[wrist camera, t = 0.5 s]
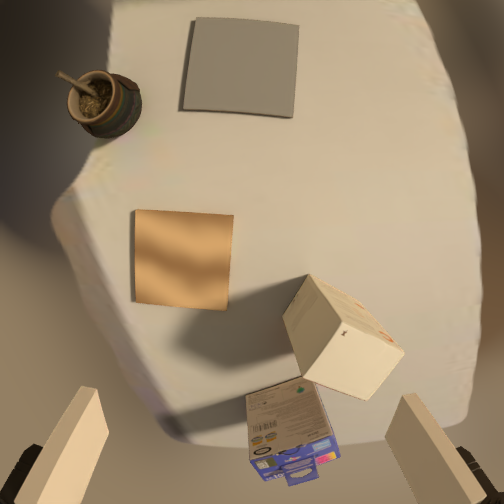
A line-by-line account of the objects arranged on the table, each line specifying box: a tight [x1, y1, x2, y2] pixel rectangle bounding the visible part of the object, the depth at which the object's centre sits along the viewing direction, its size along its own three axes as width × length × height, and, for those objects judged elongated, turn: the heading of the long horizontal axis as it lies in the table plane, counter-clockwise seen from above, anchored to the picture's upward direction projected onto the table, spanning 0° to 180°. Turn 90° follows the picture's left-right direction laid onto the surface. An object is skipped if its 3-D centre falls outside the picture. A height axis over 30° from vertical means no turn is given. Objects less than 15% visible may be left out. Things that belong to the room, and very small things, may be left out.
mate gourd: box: [55, 70, 142, 138], centre depth 27 cm, size 7×8×10 cm
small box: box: [282, 274, 405, 401], centre depth 32 cm, size 8×6×13 cm
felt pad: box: [183, 17, 299, 118], centre depth 31 cm, size 12×12×1 cm
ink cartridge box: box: [246, 377, 341, 486], centre depth 34 cm, size 10×6×14 cm, turn 111°
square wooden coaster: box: [135, 209, 234, 311], centre depth 36 cm, size 11×11×1 cm
